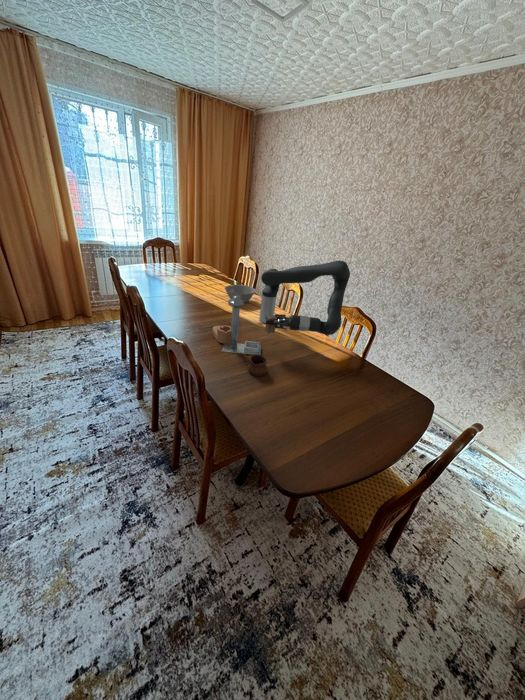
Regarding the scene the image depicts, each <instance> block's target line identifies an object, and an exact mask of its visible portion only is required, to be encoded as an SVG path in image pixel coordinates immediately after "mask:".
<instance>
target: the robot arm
mask: <svg viewBox="0 0 525 700" xmlns="http://www.w3.org/2000/svg"><path fill="white" fill-rule="evenodd" d="M325 276H331V277H332V279H333V281H334V282H333V291H332V293H331V295H330V298H329V299H328V303H327V309H326V311H327V312H326V313H327V320H326V321H322V320H321V318H318V317H312V316H306V315H298V314H297V315H296V314H291V315H290V317H288V316H287V315H286V314H278V313H277V314H275V311H276V310H275V309H276V302H277V295H278V292H279V289H280V285H281V284H304V283H311V282H312V281H315V280H316V279H318V278H320V277H325ZM350 276H351V270H350V269H349V265H348V264H347V262H346V261H344V260H335V261H334V260H333V261H330V262H325V263H321V264H311V265H301V266H294V267H290V268H287V269H282V270H278V269H276V268H270V269H267V270H265V271H264V272H263V273H262V275H261V279H260V280H261V282H262V283H263V284H264V285H265V286H264V287H263V289H262V291H261V301H260V311H259V320H258V321H260V322H261V323H264V324H265V325H266V324H267V325H273V326H275V329H280V330H288V328H289V330H291V331H298V332H299V331H300V332H315V333H319V334H321V335H326V336H332V335H334V334H335V333H337V331H339V329H340V328H341V326H342V310H343V309H342V308H343V302H344V297H345V292H346V289H347V286H348V283H349V280H350V278H351V277H350ZM270 315H274V316H275V317H276V318H277V320H276V321H274V320H266V317H267V316H270Z"/></svg>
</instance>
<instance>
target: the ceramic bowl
mask: <svg viewBox="0 0 525 700" xmlns="http://www.w3.org/2000/svg"><path fill="white" fill-rule="evenodd" d="M224 290H225V292H226V294H227V296H228V298H229V300H230V299H233V296H240V297H241V298H240V300H243V301H244V302H245V304H246V303H249V301H250V300H251V299H252V297H253V296H254V294H255V293H256V289H255V287H251V286H249V285H243V284H231V285H226V286H224Z"/></svg>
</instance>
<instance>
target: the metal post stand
mask: <svg viewBox="0 0 525 700" xmlns="http://www.w3.org/2000/svg"><path fill="white" fill-rule="evenodd" d="M240 298H241V297H240V296H233V299H230V298H229V299H228V300H227V304H228V305H229V306H232V309H231V323H230V324H231V326H230V327H231V340H230V343H223V346H222V349H221V352H222V353H233V354H240V355H241V354H242V355H252V356H262V345H260V341H250V340H249V341H248V340H245V341H244V343H238V341H239V339H238V338H239V323H240V310H241V307H243V306H246V305H245V304H246V303H245V302H244V301H243V300H240Z"/></svg>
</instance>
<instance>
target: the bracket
mask: <svg viewBox="0 0 525 700" xmlns="http://www.w3.org/2000/svg"><path fill="white" fill-rule="evenodd" d="M212 334H213V336H214V338H215V339H216V341H217V342H218V343H221V344H224V343H230V340H231V326H230V325H215V326H213V327H212Z"/></svg>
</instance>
